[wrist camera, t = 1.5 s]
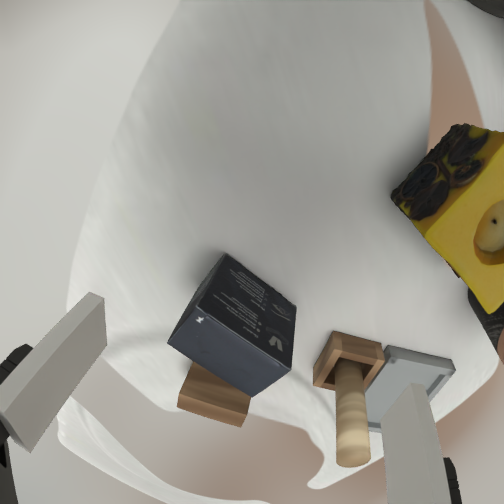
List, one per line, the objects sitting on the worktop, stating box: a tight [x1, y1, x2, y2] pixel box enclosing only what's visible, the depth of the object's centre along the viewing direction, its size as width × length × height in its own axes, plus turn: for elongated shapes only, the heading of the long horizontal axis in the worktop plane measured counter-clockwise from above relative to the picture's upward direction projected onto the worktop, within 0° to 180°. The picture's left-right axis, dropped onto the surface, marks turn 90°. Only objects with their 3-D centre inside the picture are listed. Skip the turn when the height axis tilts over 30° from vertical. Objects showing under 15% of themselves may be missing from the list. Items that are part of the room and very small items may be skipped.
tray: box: [364, 345, 456, 433], centre depth 35 cm, size 14×10×2 cm
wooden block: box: [177, 361, 251, 427], centre depth 36 cm, size 3×8×6 cm, turn 75°
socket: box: [313, 331, 385, 391], centre depth 33 cm, size 6×6×3 cm
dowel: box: [334, 357, 371, 468], centre depth 28 cm, size 3×3×14 cm
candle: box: [391, 123, 504, 314], centre depth 21 cm, size 10×10×10 cm
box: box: [167, 254, 296, 397], centre depth 29 cm, size 9×6×10 cm, turn 53°
